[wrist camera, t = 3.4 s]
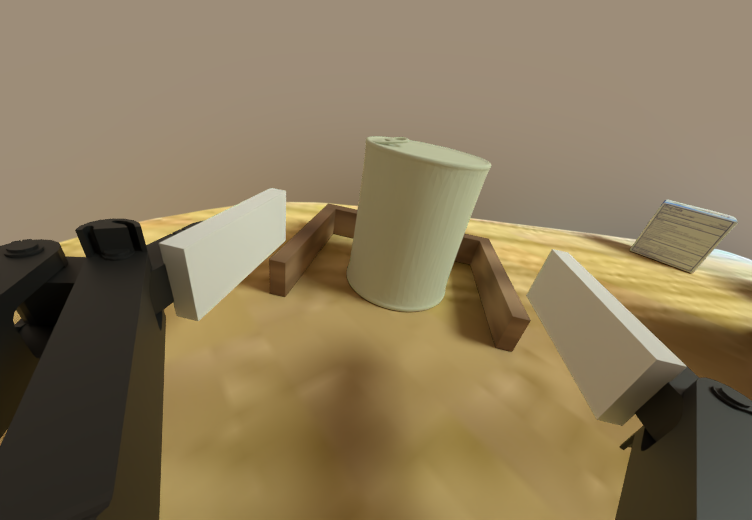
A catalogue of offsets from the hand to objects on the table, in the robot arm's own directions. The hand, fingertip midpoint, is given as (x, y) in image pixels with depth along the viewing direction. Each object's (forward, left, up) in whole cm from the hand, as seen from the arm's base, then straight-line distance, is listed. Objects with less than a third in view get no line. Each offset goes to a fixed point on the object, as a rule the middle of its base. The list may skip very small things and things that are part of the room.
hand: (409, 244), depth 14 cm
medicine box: (-53, -8, -8) cm, 54 cm away
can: (-5, -8, -8) cm, 12 cm away
